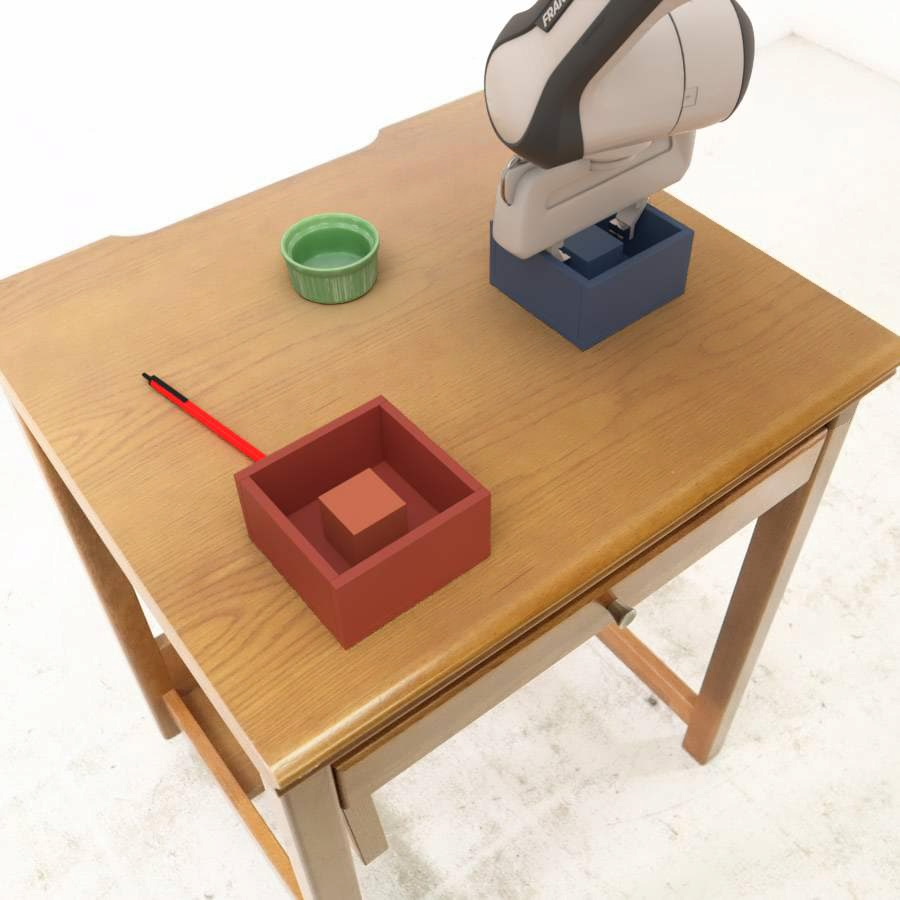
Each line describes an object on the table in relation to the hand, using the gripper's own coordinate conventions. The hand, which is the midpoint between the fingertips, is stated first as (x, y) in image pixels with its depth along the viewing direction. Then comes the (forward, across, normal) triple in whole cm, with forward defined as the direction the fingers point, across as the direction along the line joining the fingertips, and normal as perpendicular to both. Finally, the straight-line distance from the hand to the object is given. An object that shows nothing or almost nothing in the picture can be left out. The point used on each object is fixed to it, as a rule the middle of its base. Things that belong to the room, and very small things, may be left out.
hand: (589, 255), depth 95 cm
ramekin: (+4, -17, +16) cm, 24 cm away
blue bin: (+4, 0, 0) cm, 4 cm away
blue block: (+3, 0, 0) cm, 3 cm away
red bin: (+4, -33, -12) cm, 35 cm away
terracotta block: (+3, -33, -12) cm, 35 cm away
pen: (+4, -36, +6) cm, 36 cm away
